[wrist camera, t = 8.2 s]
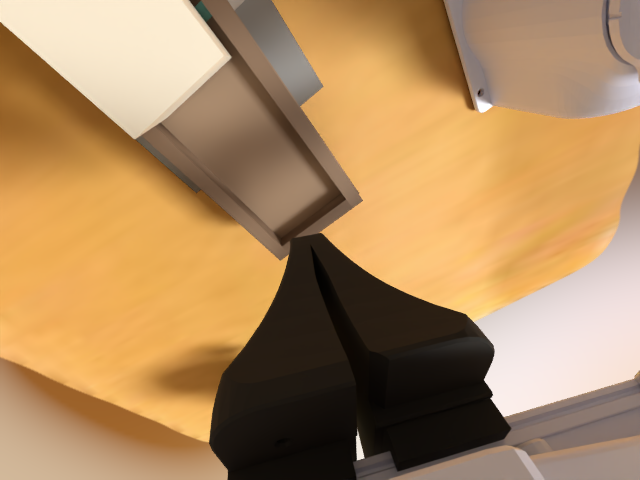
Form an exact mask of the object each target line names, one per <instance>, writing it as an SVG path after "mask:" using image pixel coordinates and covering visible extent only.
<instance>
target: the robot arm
mask: <svg viewBox="0 0 640 480" xmlns="http://www.w3.org/2000/svg"><path fill="white" fill-rule="evenodd" d="M444 4H445V7H446V11H447V14H448V18H449V21H450V25H451V28H452V32H453V35H454V38H455V42H456V45H457V49H458V52H459V56H460V59H461V63H462V66H463V70H464V73H465V77H466V80H467V83H468V87H469V90H470V94H471V97H472V101H473V104H474V108H475V110H476V111H477V112H480V113H483V112H485V111H487V110H488V109H489V108H491V107H492V106H498V107H503V108H509V109H514V110H519V111H525V112H530V113H536V114H541V115H547V116H552V117H558V118H566V119H580V118H591V117H598V116H604V115H609V114H614V113H618V112H621V111H625V110H628V109H631V108H634V107H636V106H639V105H640V0H444ZM479 90H481V92H480V94H479V95H478V91H479ZM493 357H494V346H493V344H492V343H491V342H490V341H489V340H488V338H487V337H486V336H485V335H484V334H483V332H482V331H481V330H480V329H479V327H478V326H477V325H476V324H475V323H474V322H473V321H472V320H471V319H470V318H469V317H468V316H467V315H466V314H463V313H460V312H457V311H454V310H451V309H447V308H444V307H441V306H438V305H435V304H432V303H429V302H427V301H424V300H422V299H419V298H416V297H414V296H412V295H409V294H407V293H405V292H402V291H400V290H398V289H396V288H394V287H392V286H390V285H388V284H386V283H384V282H383V281H381V280H379V279H378V278H376V277H374V276H373V275H371V274H369V273H368V272H366V271H365V270H363V269H362V268H361V267H359V266H358V265H357V264H355V263H354V262H353V261H351V260H350V259H349V258H348V257H347V256H345V255H344V254H343V253H342V252H341V251H340V250H338V249H337V248H336V247H335V246H334V245H333V244H332V243H331V242H330V241H329V240H328V239H327V238H326V237H325V236H324V235H323V234H322V233H318V234H312V235H307V236H301V237H296V238H292V239H291V240H290V252H289V257H288V261H287V265H286V269H285V272H284V275H283V278H282V281H281V284H280V286H279V289H278V291H277V294H276V296H275V298H274V300H273V302H272V304H271V306H270V308H269V310H268V311H267V313H266V315H265V317H264V319H263V320H262V322H261V324H260V325H259V327H258V328H257V330H256V331H255V332H254V334H253V335H252V337H251V338H250V340H249V341H248V343H247V344H246V346H245V347H244V348H243V350H242V351H241V352H240V353H239V354H238V356H237V357H236V358H235V359H234V361H233V362H232V363H231V364H230V365H229V367H228V368H227V369H226V370H225V371H224V373H223V374H222V377H221V380H220V384H219V387H218V391H217V394H216V398H215V403H214V407H213V413H212V421H211V430H210V440H209V444H210V446H211V449H212V451H213V452H214V453H215V454H216V456H217V457H218V458H219V459H220V461H221V462H222V463H223V465H224V466H225V467H226V468H227V469H228V480H640V371H639V372H638V373H637V374H636V375H635V378H634V379H632V380H628V381H625V382H622V383H618V384H615V385H611V386H608V387H605V388H601V389H598V390H595V391H591V392H588V393H585V394H581V395H578V396H574V397H571V398H567V399H564V400H561V401H557V402H554V403H551V404H548V405H544V406H541V407H537V408H534V409H530V410H527V411H524V412H520V413H517V414H513V415H510V416H506V417H503V416H502V414H501V413H500V412H499V410H498V409H497V407H496V406H495V404H494V403H493V402H492V400H491V399H490V398H491V397H492V396H493V394H492V391H491V390H490V388H489V387H488V385H487V384H486V383H485V381H484V378H485V376H486V374H487V372H488V370H489V368H490V365H491V363H492V361H493ZM357 429H358V432H359V437H360V441H361V445H362V449H363V453H364V457H365V458H364V459H361V460H357V454H356V436H357Z"/></svg>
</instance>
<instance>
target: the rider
mask: <svg viewBox="0 0 640 480" xmlns="http://www.w3.org/2000/svg"><path fill="white" fill-rule="evenodd" d="M0 22H1V23H2V24H3V25H4V26H6V27H7V28H8V29H9V30H10V31H11V32H12V33H14V34H15V35H16V36H17V37H18V38H19V39H20V40H22V41H23V42H24V43H25V44H26V45H27V46H28V47H30V48H31V49H32V50H33V51H34V52H35V53H36V54H38V55H39V56H40V57H41V58H42V59H43V60H44V61H46V62H47V63H48V64H49V65H50V66H51V67H52V68H54V69H55V70H56V71H57V72H58V73H59V74H60V75H61V76H63V77H64V78H65V79H66V80H67V81H68V82H69V83H71V84H72V85H73V86H74V87H75V88H76V89H77V90H79V91H80V92H81V93H82V94H83V95H84V96H85V97H87V98H88V99H89V100H90V101H91V102H92V103H93V104H95V105H96V106H97V107H98V108H99V109H100V110H101V111H103V112H104V113H105V114H106V115H107V116H108V117H109V118H111V119H112V120H113V121H114V122H115V123H116V124H117V125H118V126H120V127H121V128H122V129H123V130H124V131H125V132H126V133H128V134H129V135H130V136H131V137H132V138H133V139H134V140H135V139H136V138H138V137H139V136H141V135H142V134H144V133H145V132H147V131H148V130H150V129H151V128H153V127H154V126H156V125H157V124H159V123H160V122H162V121H163V120H165V119H166V118H167V117H169V116H170V115H171V114H172V113H173V112H174V111H175V110H176V109H177V108H178V107H179V106H180V105H181V104H182V103H184V102H185V101H186V100H187V99H188V98H189V97H190V96H191V95H192V94H193V93H194V92H195V91H196V90H198V89H199V88H200V87H201V86H202V85H203V84H204V83H205V82H206V81H207V80H208V79H209V78H210V77H212V76H213V75H214V74H215V73H216V72H217V71H218V70H219V69H220V68H221V67H222V66H223V65H224V64H225V63H227V62H228V61H229V60H230V59H231V58H232V56H231V55H230V54H229V52H228V51H227V50H226V48H225V47H224V46H223V44H222V43H221V42H220V40H219V39H218V38H217V36H216V35H215V34H214V32H213V31H212V30H211V28H210V27H209V26H208V25H207V23H206V22H205V21H204V19H203V18H202V17H201V15H200V14H199V13H198V11H197V10H196V9H195V7H194V6H193V5H192V3H191V2H190V1H189V0H0Z"/></svg>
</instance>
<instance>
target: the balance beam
mask: <svg viewBox="0 0 640 480" xmlns="http://www.w3.org/2000/svg"><path fill="white" fill-rule="evenodd" d="M189 1H190V2H191V3H192V5H193V6H194V7H195V9H196V10H197V11H198V13H199V14H200V15H201V17H202V18H203V19H204V21H205V22H206V23H207V25H208V26H209V27H210V28H211V30H212V31H213V32H214V34H215V35H216V36H217V38H218V39H219V40H220V42H221V43H222V44H223V46H224V47H225V48H226V50H227V51H228V52H229V54H230V55H231V56H232V58H231V59H230V60H229V61H228V62H227V63H225V64H224V65H223V66H222V67H221V68H220V69H219V70H218V71H217V72H216V73H215V74H214V75H213V76H212V77H210V78H209V79H208V80H207V81H206V82H205V83H204V84H203V85H202V86H201V87H200V88H199V89H198V90H196V91H195V92H194V93H193V94H192V95H191V96H190V97H189V98H188V99H187V100H186V101H185V102H184V103H182V104H181V105H180V106H179V107H178V108H177V109H176V110H175V111H174V112H173V113H172V114H171V115H170V116H169V117H167V118H166V119H165V120H163V121H162V122H160V123H159V124H157V125H156V126H154V127H153V128H151V129H150V130H148V131H147V132H145V133H144V134H142V135H141V136H139V137H138V138H136V139H135V140H137V141H138V142H139V143H140V144H141V145H142V146H143V147H145V148H146V149H147V150H148V151H149V152H150V153H151V154H153V155H154V156H155V157H156V158H157V159H158V160H159V161H161V162H162V163H163V164H164V165H165V166H166V167H167V168H168V169H170V170H171V171H172V172H173V173H174V174H175V175H176V176H178V177H179V178H180V179H181V180H182V181H183V182H184V183H186V184H187V185H188V186H189V187H190V188H191V189H192V190H194V191H195V192H196V193H197V192H198V191H200V190H202V191H204V192H205V193H206V194H207V195H208V196H209V197H210V198H211V199H212V200H214V201H215V202H216V203H217V204H218V205H219V206H220V207H221V208H222V209H224V210H225V211H226V212H227V213H228V214H229V215H230V216H231V217H233V218H234V219H235V220H236V221H237V222H238V223H239V224H240V225H241V226H243V227H244V228H245V229H246V230H247V231H248V232H249V233H250V234H251V235H253V236H254V237H255V238H256V239H257V240H258V241H259V242H260V243H261V244H263V245H264V246H265V247H266V248H267V249H268V250H269V251H270V252H271V253H273V254H274V255H275V256H276V257H277V258H278V259H279V260H282V259H283V258H285V257H286V256H287V255H289V252H290V240H291V239H292V238H296V237H301V236H307V235H312V234H318V233H319V232H320V231H322V230H323V229H325V228H326V227H327V226H329V225H330V224H332V223H333V222H334V221H336V220H337V219H338V218H340V217H341V216H343V215H344V214H345V213H347V212H348V211H349V210H351V209H352V208H354V207H355V206H356V205H358V204H359V203H361V202H362V201H363V200H362V199H361V197H360V196H359V192H358V191H357V190H356V188H355V187H354V185H353V184H352V182H351V181H350V179H349V178H348V176H347V175H346V173H345V172H344V170H343V169H342V168H341V166H340V165H339V163H338V162H337V160H336V159H335V157H334V156H333V154H332V153H331V151H330V150H329V148H328V147H327V146H326V144H325V143H324V141H323V140H322V138H321V137H320V135H319V134H318V132H317V131H316V129H315V128H314V126H313V125H312V124H311V122H310V121H309V119H308V118H307V116H306V115H305V113H304V112H303V110H302V109H301V107H300V106H301V105H302V104H303V103H305V102H306V101H307V100H308V99H309V98H311V97H312V96H313V95H314V94H315V93H317V92H318V91H319V90H320V89H321V88H322V87H323V85H322V83H321V82H320V80H319V78H318V77H317V75H316V73H315V72H314V70H313V68H312V67H311V65H310V63H309V62H308V60H307V58H306V57H305V55H304V53H303V52H302V50H301V48H300V47H299V45H298V43H297V42H296V40H295V39H294V37H293V35H292V34H291V32H290V30H289V29H288V27H287V25H286V24H285V22H284V20H283V19H282V17H281V15H280V14H279V12H278V10H277V9H276V7H275V5H274V4H273V2H272V0H189Z"/></svg>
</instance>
